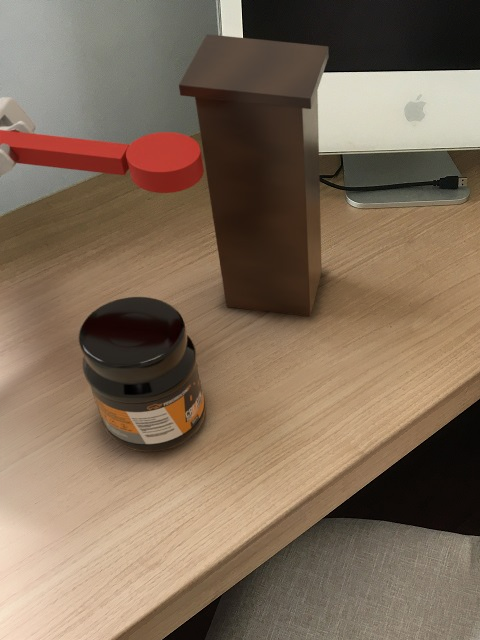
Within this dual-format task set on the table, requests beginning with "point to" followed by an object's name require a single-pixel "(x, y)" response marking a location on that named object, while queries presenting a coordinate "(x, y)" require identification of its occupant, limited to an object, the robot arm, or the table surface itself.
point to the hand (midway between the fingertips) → (19, 143)
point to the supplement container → (143, 373)
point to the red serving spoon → (117, 157)
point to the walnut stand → (262, 166)
